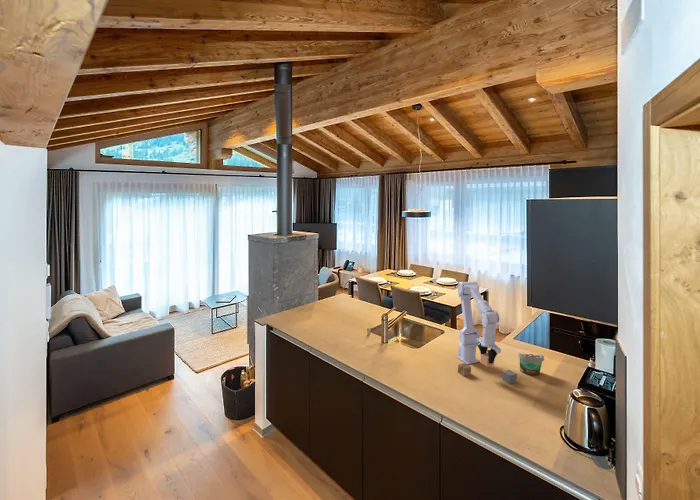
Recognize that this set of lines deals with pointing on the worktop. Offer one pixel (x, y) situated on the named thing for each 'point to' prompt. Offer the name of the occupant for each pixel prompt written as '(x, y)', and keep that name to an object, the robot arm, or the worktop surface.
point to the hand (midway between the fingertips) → (487, 360)
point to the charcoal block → (509, 376)
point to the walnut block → (464, 369)
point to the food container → (530, 364)
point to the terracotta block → (485, 360)
